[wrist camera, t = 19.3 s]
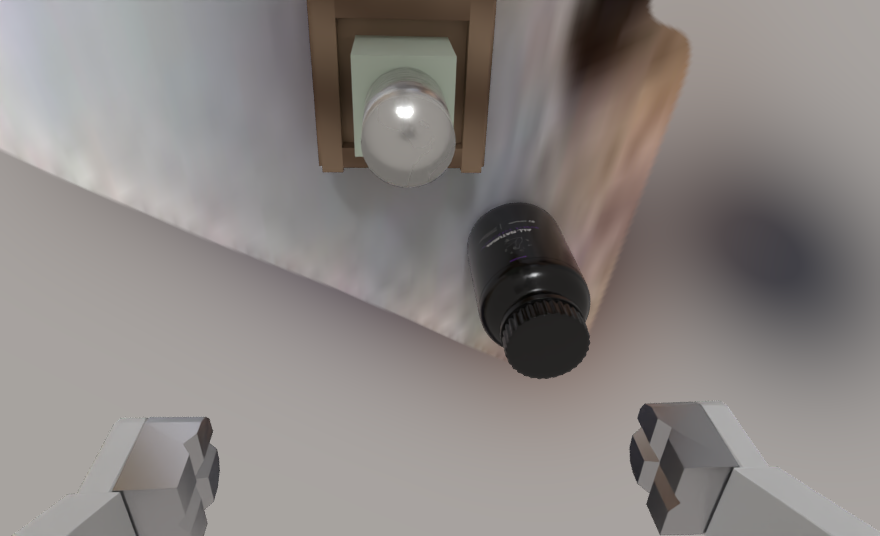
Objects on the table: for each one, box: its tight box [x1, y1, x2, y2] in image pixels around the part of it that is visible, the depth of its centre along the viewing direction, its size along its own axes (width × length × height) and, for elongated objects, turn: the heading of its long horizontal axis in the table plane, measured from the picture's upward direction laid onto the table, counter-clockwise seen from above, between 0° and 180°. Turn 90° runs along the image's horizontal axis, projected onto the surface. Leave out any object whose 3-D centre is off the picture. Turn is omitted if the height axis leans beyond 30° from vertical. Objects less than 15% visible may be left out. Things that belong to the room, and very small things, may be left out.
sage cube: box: [351, 35, 457, 157], centre depth 31 cm, size 5×5×5 cm
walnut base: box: [307, 0, 497, 173], centre depth 34 cm, size 10×10×4 cm
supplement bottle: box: [468, 203, 590, 379], centre depth 38 cm, size 7×7×12 cm
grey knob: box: [361, 67, 456, 188], centre depth 27 cm, size 4×4×5 cm
